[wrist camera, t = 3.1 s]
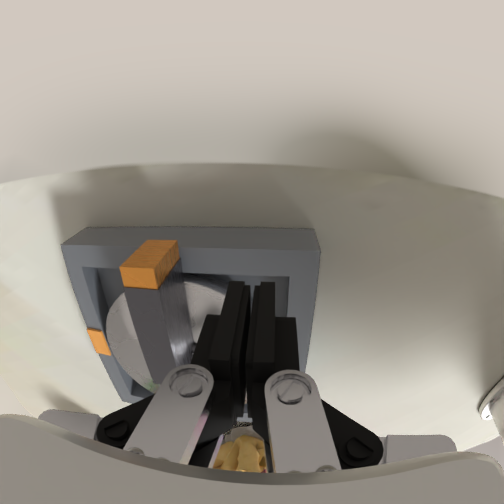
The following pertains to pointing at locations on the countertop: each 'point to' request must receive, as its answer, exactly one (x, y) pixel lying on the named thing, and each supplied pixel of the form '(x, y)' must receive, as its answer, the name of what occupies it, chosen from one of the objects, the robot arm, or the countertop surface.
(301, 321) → the housing
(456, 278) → the countertop surface
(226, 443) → the pastel sphere sculpture
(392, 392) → the countertop surface
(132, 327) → the dial
